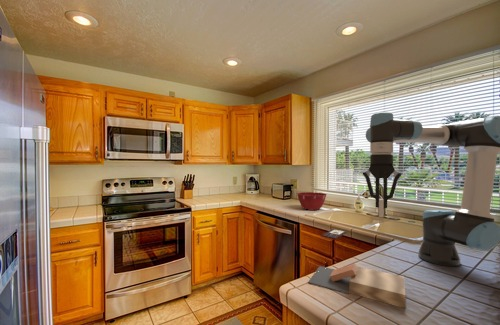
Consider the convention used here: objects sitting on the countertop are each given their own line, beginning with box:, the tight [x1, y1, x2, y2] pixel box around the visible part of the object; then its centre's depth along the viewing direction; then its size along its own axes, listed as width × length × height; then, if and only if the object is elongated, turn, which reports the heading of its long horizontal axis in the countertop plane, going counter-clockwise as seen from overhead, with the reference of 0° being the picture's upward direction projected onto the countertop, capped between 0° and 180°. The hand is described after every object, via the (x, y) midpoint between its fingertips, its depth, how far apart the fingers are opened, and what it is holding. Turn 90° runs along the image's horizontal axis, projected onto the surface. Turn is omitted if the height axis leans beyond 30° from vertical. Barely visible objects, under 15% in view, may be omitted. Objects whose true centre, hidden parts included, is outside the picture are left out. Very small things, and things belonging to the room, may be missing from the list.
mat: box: [307, 265, 351, 295], centre depth 89 cm, size 14×16×1 cm
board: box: [349, 265, 407, 309], centre depth 81 cm, size 16×14×4 cm
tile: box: [330, 263, 358, 282], centre depth 87 cm, size 9×6×2 cm, turn 59°
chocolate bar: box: [321, 228, 347, 240], centre depth 147 cm, size 9×1×18 cm
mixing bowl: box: [296, 191, 327, 211], centre depth 232 cm, size 28×28×16 cm
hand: (381, 216), depth 88 cm, fingers closed
